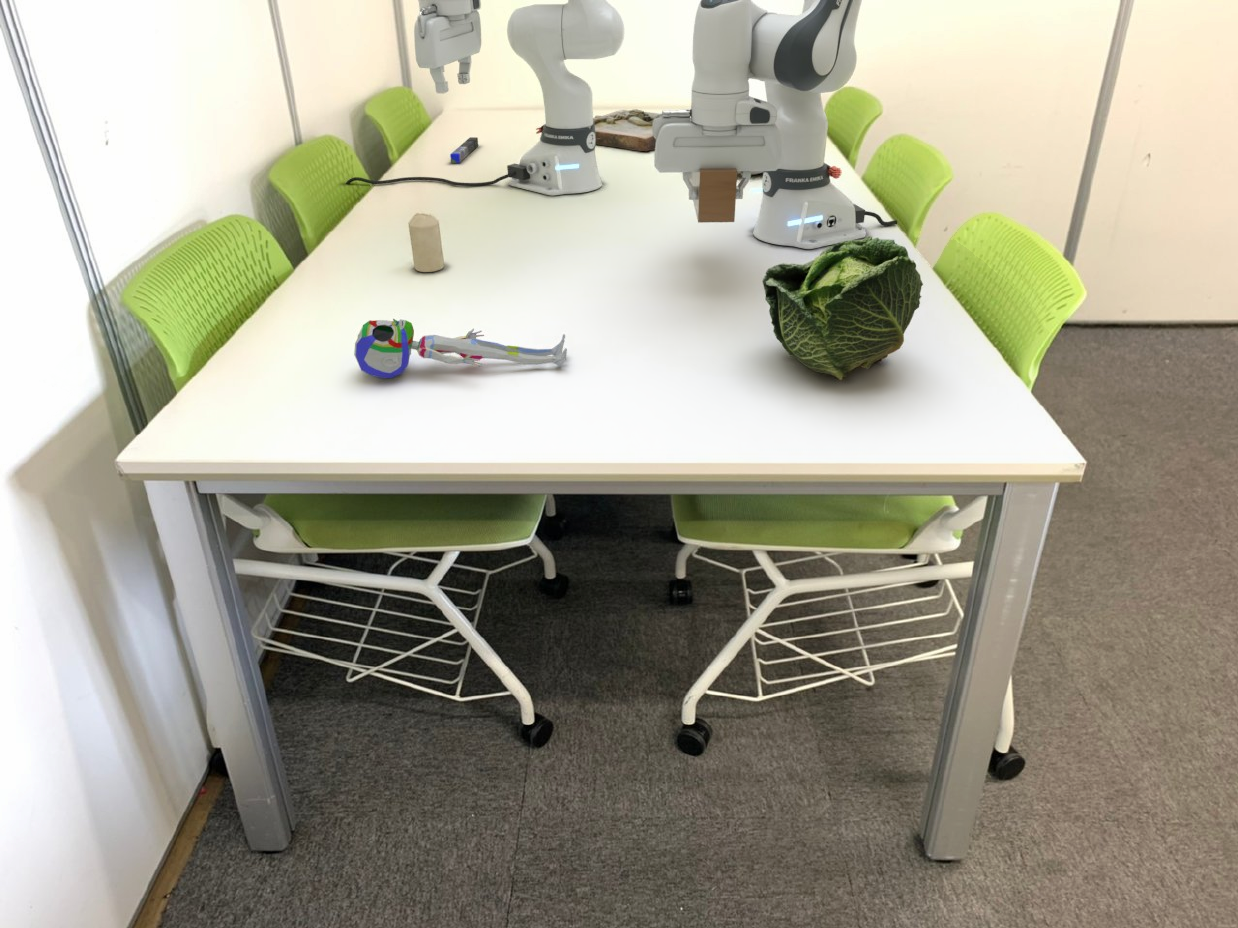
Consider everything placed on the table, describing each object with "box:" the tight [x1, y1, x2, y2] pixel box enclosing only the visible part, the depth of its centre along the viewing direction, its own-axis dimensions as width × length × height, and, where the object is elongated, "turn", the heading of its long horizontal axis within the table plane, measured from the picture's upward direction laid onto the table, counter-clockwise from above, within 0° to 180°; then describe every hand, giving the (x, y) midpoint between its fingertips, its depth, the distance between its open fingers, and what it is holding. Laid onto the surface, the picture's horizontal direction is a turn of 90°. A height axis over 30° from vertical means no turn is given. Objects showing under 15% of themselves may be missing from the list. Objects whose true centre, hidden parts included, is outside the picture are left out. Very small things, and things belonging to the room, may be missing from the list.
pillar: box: [449, 137, 479, 164], centre depth 242 cm, size 2×2×20 cm
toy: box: [353, 318, 568, 379], centre depth 130 cm, size 10×8×30 cm
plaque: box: [593, 108, 691, 152], centre depth 257 cm, size 30×7×30 cm
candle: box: [407, 212, 445, 273], centre depth 166 cm, size 6×6×10 cm
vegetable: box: [762, 236, 924, 381], centre depth 127 cm, size 20×19×20 cm
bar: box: [689, 168, 738, 224], centre depth 155 cm, size 27×6×8 cm, turn 0°
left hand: (453, 88), depth 162 cm, fingers open, 8 cm apart
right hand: (715, 198), depth 147 cm, fingers closed on bar, 6 cm apart
